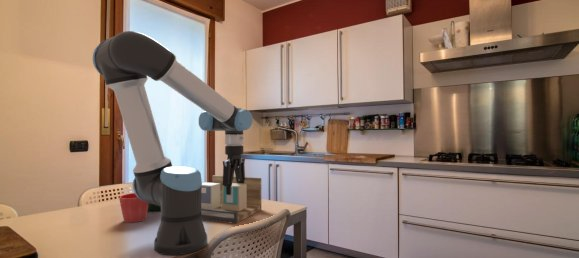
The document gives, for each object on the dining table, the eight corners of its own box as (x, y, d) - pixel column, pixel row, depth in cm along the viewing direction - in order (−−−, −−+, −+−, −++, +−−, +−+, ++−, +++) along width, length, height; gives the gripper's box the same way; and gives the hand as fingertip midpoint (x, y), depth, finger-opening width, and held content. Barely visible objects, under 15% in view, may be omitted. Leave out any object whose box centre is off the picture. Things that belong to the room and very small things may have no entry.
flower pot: (112, 221, 116) (113, 196, 116) (138, 214, 126) (138, 191, 126) (130, 225, 111) (130, 199, 111) (155, 217, 121) (155, 193, 121)
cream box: (211, 209, 125) (211, 185, 125) (195, 208, 128) (195, 184, 128) (220, 206, 131) (220, 183, 131) (205, 204, 134) (205, 182, 134)
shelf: (236, 223, 113) (235, 186, 113) (182, 216, 122) (182, 182, 122) (261, 209, 133) (261, 178, 133) (213, 204, 142) (213, 175, 142)
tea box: (221, 209, 123) (221, 185, 124) (230, 206, 129) (230, 182, 129) (238, 211, 121) (238, 186, 121) (246, 207, 126) (246, 184, 127)
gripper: (229, 146, 115) (229, 206, 115) (253, 144, 133) (253, 196, 133) (212, 145, 118) (212, 205, 117) (238, 144, 136) (238, 195, 135)
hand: (234, 200), depth 125 cm, fingers closed on tea box, 6 cm apart
